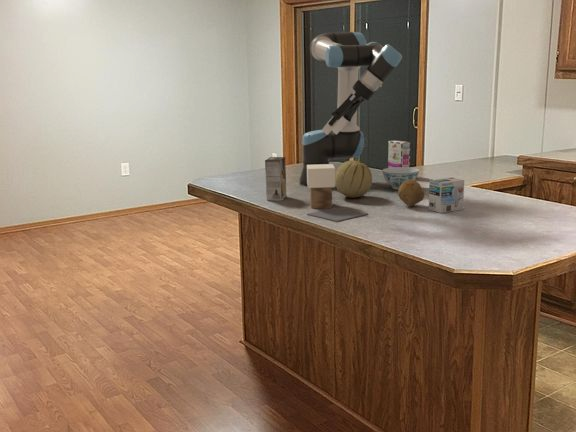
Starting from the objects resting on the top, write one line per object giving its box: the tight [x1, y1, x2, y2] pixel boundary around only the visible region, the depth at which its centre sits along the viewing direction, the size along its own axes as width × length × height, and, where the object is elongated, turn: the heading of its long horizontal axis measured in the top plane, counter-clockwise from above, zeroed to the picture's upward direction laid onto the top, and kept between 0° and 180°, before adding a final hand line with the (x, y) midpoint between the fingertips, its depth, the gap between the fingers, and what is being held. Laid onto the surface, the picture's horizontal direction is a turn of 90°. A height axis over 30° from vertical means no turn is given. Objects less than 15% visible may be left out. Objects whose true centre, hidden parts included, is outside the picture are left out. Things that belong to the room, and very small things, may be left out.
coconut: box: [397, 179, 425, 207], centre depth 224 cm, size 9×9×10 cm
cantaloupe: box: [335, 158, 373, 199], centre depth 241 cm, size 15×15×15 cm
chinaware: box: [382, 167, 420, 190], centre depth 257 cm, size 15×15×8 cm
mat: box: [306, 206, 369, 223], centre depth 214 cm, size 15×15×1 cm
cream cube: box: [306, 163, 336, 189], centre depth 227 cm, size 10×10×7 cm
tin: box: [309, 187, 333, 209], centre depth 228 cm, size 8×8×14 cm
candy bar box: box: [387, 140, 411, 168], centre depth 284 cm, size 11×5×16 cm, turn 25°
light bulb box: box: [428, 177, 465, 214], centre depth 216 cm, size 11×7×11 cm, turn 117°
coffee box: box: [264, 156, 287, 202], centre depth 243 cm, size 9×6×16 cm
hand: (329, 132), depth 223 cm, fingers open, 13 cm apart
